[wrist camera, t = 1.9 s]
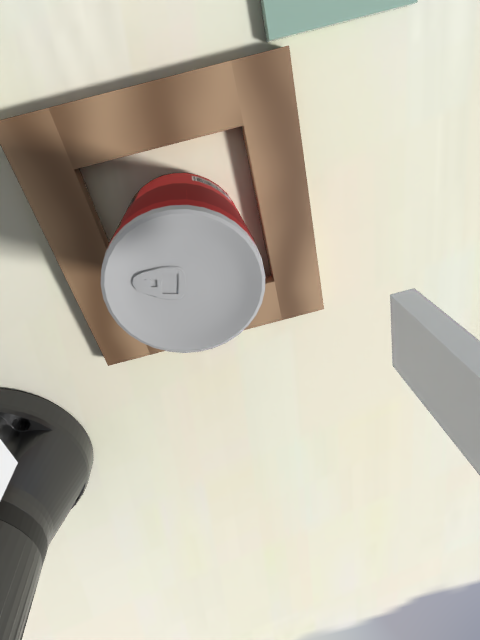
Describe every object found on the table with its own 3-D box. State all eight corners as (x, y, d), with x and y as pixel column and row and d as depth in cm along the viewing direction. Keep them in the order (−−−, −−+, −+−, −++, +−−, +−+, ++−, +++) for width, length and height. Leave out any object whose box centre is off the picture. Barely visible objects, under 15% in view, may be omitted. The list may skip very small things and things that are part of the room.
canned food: (111, 183, 27) (72, 228, 17) (227, 159, 27) (253, 190, 17) (145, 285, 30) (128, 369, 21) (246, 263, 31) (276, 336, 21)
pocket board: (110, 357, 33) (108, 365, 32) (-2, 122, 24) (-11, 123, 23) (319, 302, 33) (323, 308, 32) (284, 47, 24) (288, 45, 23)
